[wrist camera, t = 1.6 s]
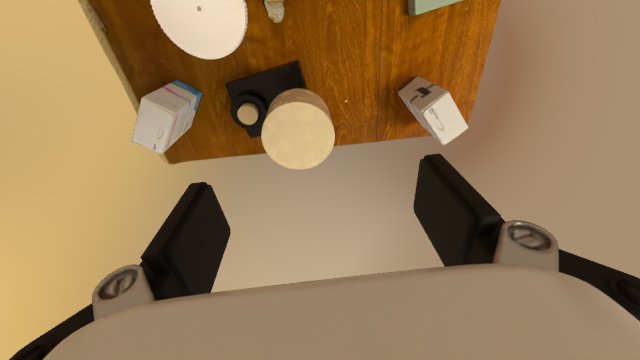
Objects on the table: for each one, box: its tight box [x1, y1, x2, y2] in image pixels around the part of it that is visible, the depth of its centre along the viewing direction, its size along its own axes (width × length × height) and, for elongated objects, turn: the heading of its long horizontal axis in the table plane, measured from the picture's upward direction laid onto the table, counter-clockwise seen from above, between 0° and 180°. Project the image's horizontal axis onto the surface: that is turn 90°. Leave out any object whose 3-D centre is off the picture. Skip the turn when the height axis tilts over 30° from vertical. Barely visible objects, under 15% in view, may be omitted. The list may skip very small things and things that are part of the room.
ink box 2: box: [398, 76, 468, 145], centre depth 45 cm, size 8×5×12 cm, turn 42°
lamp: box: [261, 88, 335, 169], centre depth 37 cm, size 9×9×18 cm
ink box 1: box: [132, 80, 202, 154], centre depth 42 cm, size 9×5×12 cm, turn 148°
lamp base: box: [225, 60, 307, 138], centre depth 46 cm, size 15×11×4 cm
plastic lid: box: [150, 0, 248, 60], centre depth 38 cm, size 14×14×2 cm
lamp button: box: [237, 103, 259, 125], centre depth 45 cm, size 4×4×2 cm
